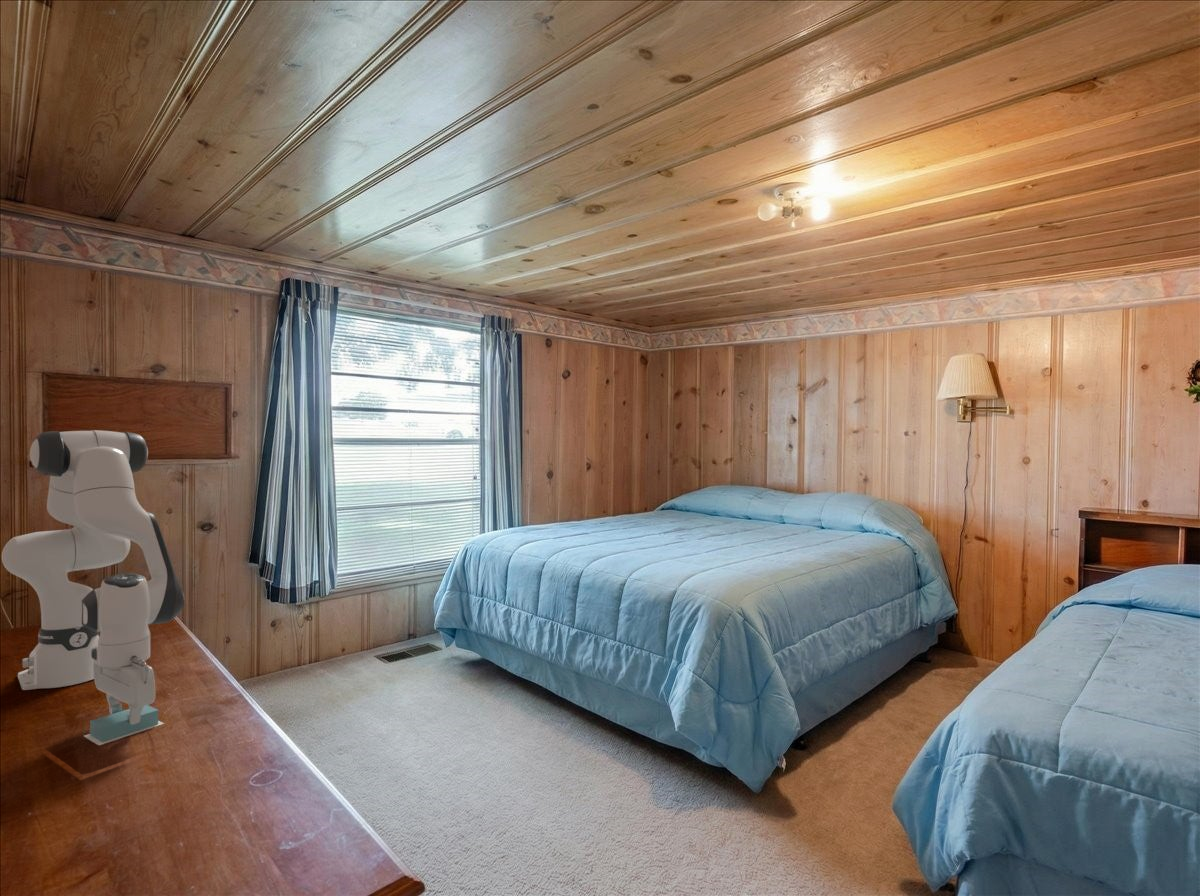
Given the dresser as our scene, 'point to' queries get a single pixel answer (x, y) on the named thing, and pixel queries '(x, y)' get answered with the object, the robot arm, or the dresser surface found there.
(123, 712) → the teal rectangular block
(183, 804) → the dresser surface
